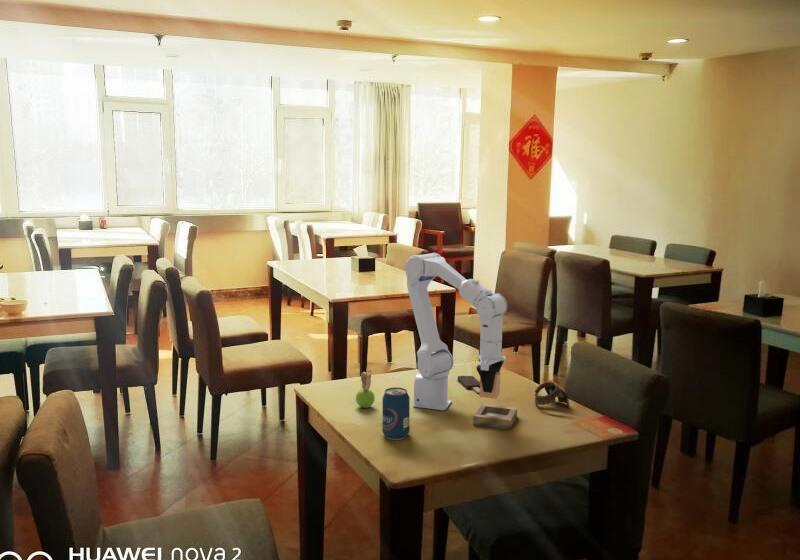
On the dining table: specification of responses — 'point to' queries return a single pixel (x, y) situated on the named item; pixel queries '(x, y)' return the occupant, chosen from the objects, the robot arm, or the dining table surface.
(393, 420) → the soda can
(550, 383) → the dark looped band sculpture
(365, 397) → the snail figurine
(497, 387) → the terracotta block
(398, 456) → the dining table surface
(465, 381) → the ice cream bar
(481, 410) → the walnut base
